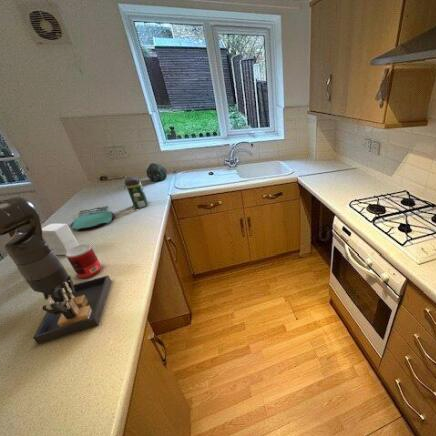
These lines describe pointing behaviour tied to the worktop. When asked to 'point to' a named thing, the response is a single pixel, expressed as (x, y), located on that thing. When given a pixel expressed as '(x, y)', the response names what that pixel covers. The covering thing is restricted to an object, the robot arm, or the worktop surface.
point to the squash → (156, 172)
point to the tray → (96, 300)
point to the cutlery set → (92, 218)
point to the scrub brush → (80, 313)
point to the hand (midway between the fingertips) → (73, 313)
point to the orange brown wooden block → (81, 301)
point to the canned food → (84, 261)
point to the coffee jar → (136, 192)
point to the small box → (59, 238)
